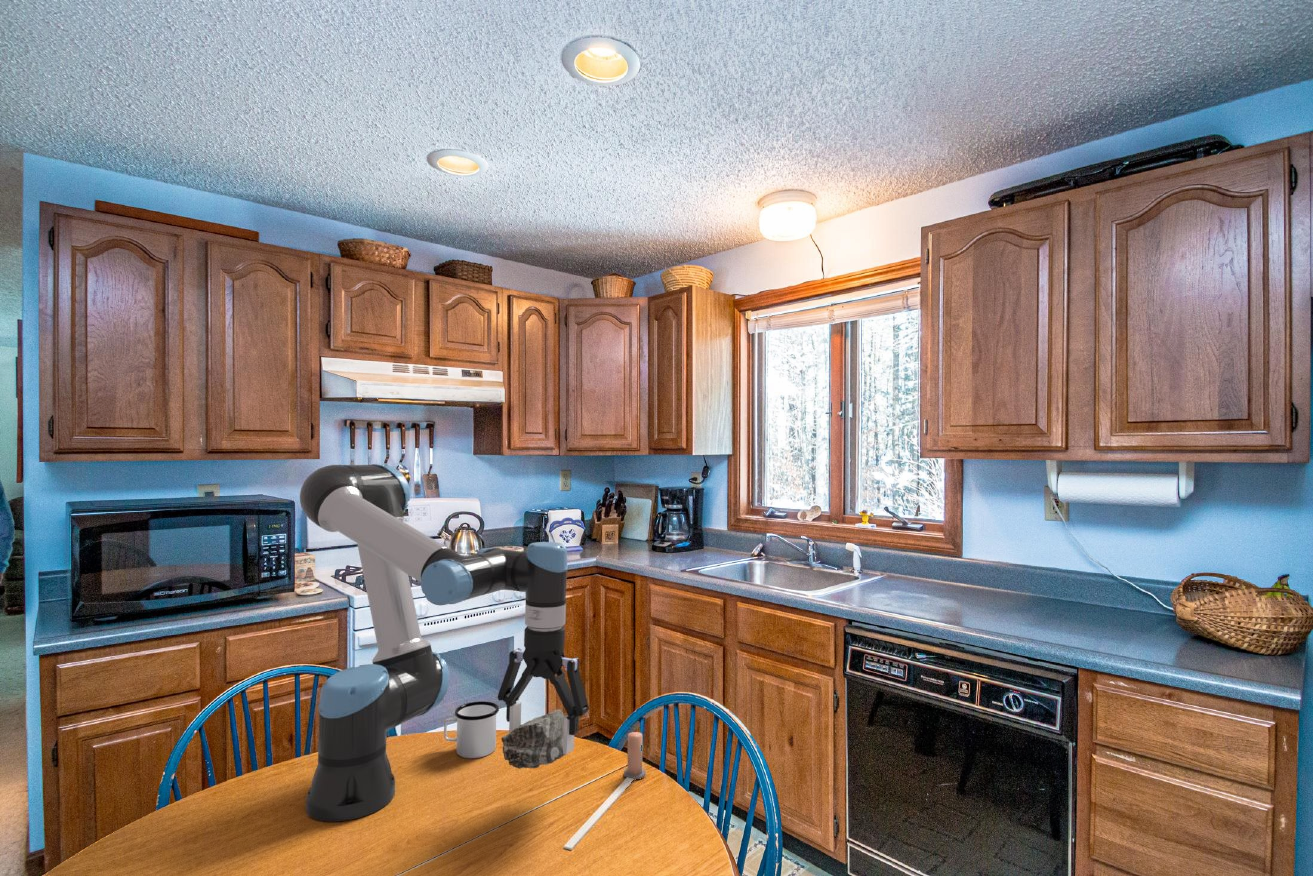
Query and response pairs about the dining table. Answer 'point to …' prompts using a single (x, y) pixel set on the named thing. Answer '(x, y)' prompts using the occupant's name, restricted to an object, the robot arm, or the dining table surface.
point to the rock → (535, 741)
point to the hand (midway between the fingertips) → (540, 745)
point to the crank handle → (630, 773)
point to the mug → (475, 729)
